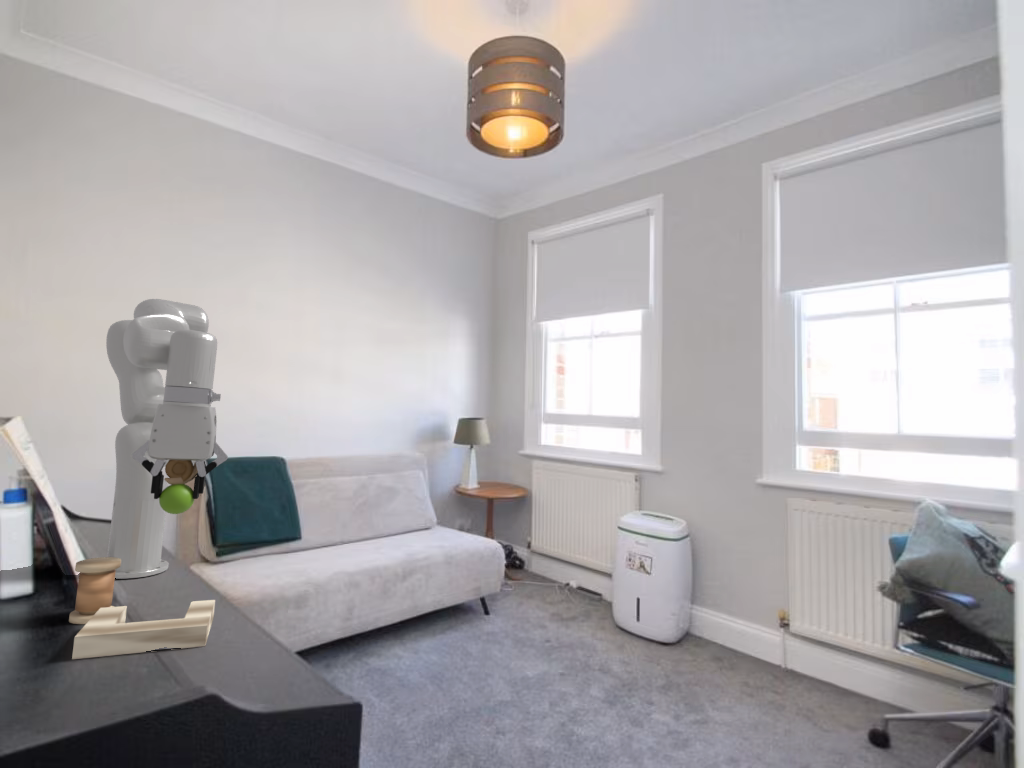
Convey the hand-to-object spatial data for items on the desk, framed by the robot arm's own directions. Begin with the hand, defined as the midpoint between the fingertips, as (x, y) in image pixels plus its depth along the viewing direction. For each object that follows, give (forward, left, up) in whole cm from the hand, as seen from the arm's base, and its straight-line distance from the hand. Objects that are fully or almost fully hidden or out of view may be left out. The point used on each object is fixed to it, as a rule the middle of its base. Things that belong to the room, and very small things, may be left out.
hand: (177, 496), depth 96 cm
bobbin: (+3, -10, -19) cm, 22 cm away
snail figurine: (0, 0, -3) cm, 3 cm away
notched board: (+14, 0, -19) cm, 24 cm away
